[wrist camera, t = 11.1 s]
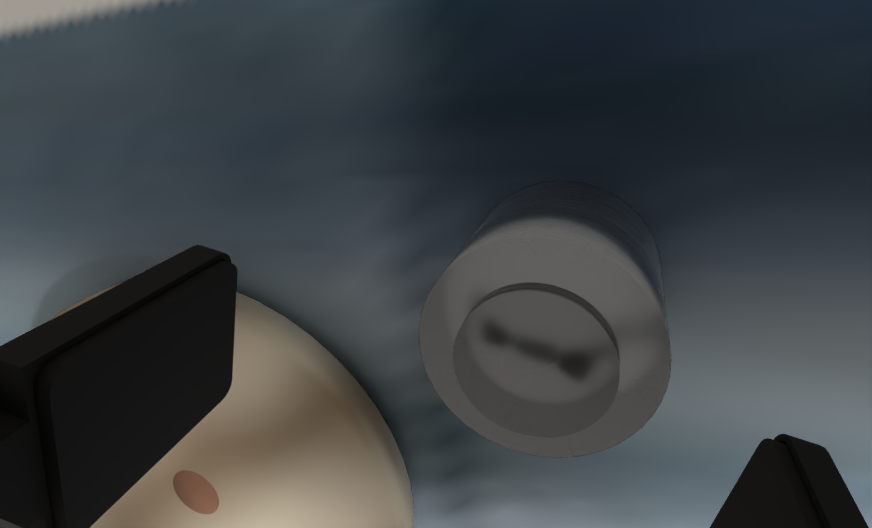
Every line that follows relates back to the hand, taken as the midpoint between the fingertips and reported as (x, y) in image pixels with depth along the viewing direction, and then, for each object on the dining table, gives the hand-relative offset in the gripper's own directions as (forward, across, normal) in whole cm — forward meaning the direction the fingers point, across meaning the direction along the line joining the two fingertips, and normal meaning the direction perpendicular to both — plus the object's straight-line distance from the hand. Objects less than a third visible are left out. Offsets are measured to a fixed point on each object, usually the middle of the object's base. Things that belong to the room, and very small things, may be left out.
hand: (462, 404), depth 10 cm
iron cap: (+6, -1, 0) cm, 7 cm away
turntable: (+7, +9, +12) cm, 16 cm away
